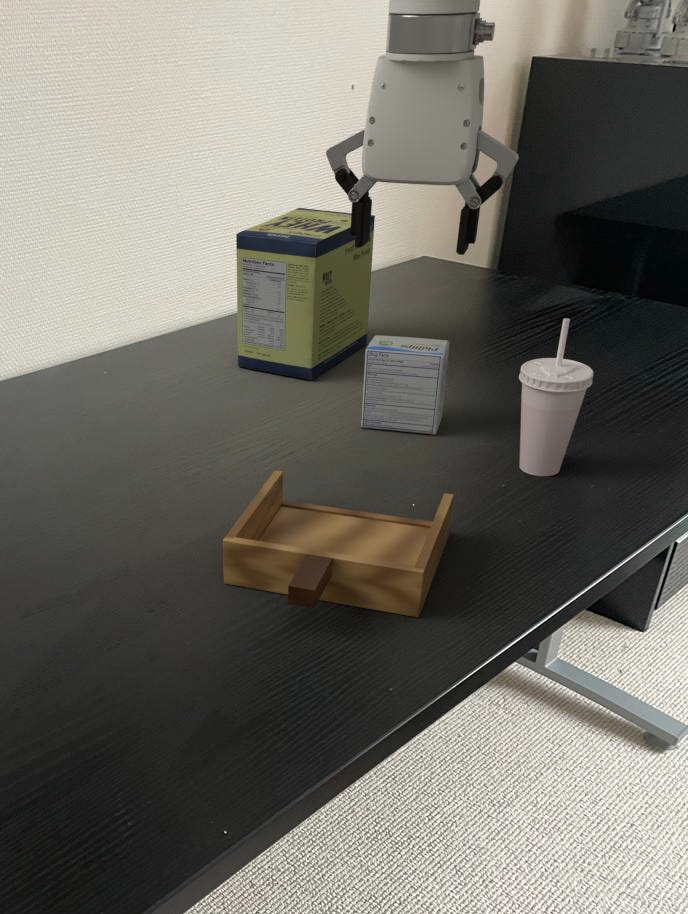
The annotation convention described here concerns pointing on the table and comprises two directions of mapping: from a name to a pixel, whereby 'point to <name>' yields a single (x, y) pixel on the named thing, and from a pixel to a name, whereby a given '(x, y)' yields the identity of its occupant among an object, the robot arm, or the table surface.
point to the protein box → (302, 293)
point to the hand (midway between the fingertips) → (411, 247)
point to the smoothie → (550, 408)
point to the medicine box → (404, 384)
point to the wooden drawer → (335, 553)
